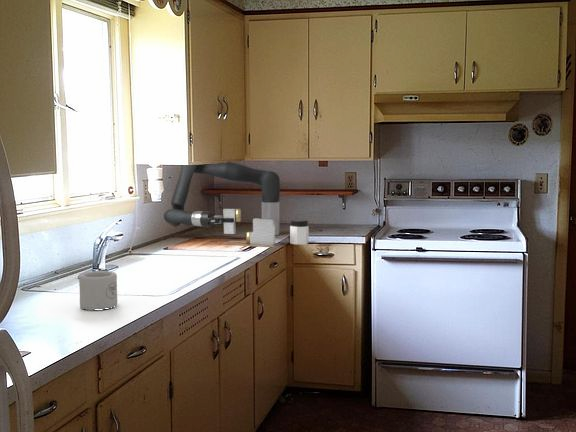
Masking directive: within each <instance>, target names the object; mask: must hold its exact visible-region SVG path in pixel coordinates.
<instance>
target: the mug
mask: <svg viewBox="0 0 576 432" xmlns="http://www.w3.org/2000/svg"><path fill="white" fill-rule="evenodd" d="M117 279H118V275H117V273H116V272H113V271H110V270H108V271H107V270H94V271H87V272H83V273H81V274H79V276H78V282H79V283H78V285H79V286H78V287H79V307H80V309H81V310H83V309H88V310H95V309H105V308H111V307H114V306H116V305H117V306H118V281H117ZM117 306H116V307H117ZM88 310H87V311H88Z"/></svg>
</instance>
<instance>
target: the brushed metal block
mask: <svg viewBox="0 0 576 432" xmlns="http://www.w3.org/2000/svg"><path fill="white" fill-rule="evenodd" d="M222 210H223V213H222V214H223V216H224V217H225V218H234V222H233V223H223V234H224V235H226V234H227V235H235V234H236V232H237V231H236V223H240V222H242V209H241V208H223V209H222Z"/></svg>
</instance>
